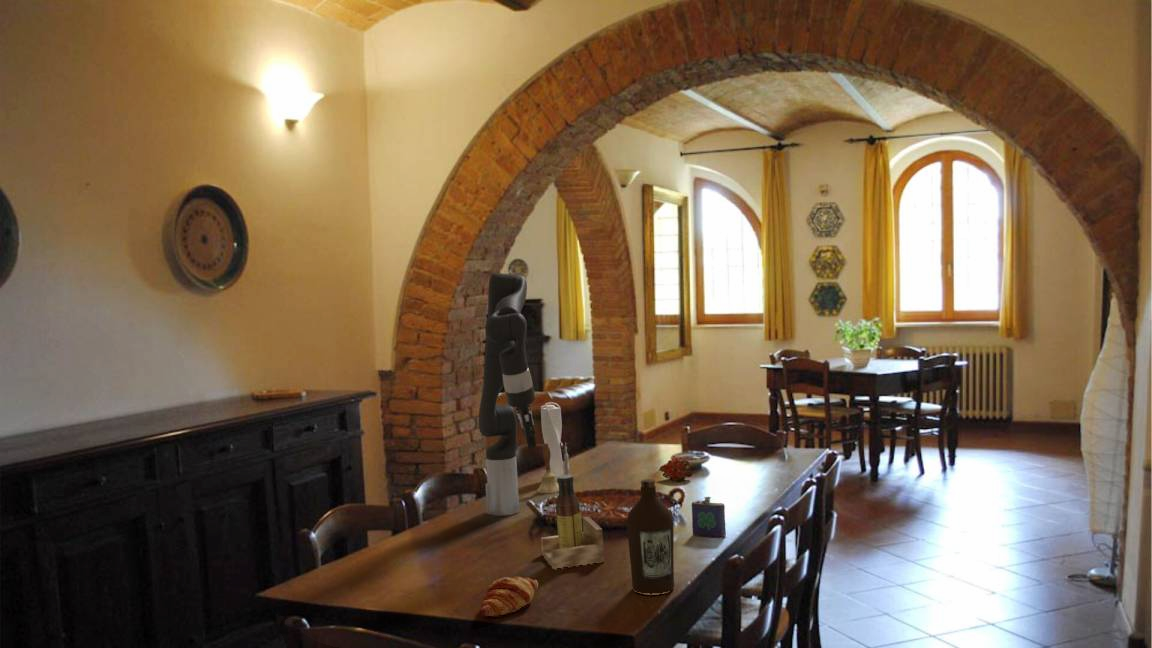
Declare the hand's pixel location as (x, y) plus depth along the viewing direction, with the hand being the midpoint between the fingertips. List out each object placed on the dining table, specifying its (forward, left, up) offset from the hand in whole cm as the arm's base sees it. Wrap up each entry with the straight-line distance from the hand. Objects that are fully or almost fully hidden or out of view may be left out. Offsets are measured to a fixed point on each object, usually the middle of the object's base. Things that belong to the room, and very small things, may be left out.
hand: (529, 440), depth 250 cm
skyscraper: (-16, +72, -28) cm, 79 cm away
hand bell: (-13, +57, -28) cm, 65 cm away
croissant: (+9, -47, -28) cm, 55 cm away
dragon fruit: (+27, +73, -28) cm, 83 cm away
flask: (+46, +9, -28) cm, 55 cm away
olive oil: (+39, -33, -28) cm, 58 cm away
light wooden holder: (+14, -13, -28) cm, 34 cm away
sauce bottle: (+14, -13, -27) cm, 33 cm away
